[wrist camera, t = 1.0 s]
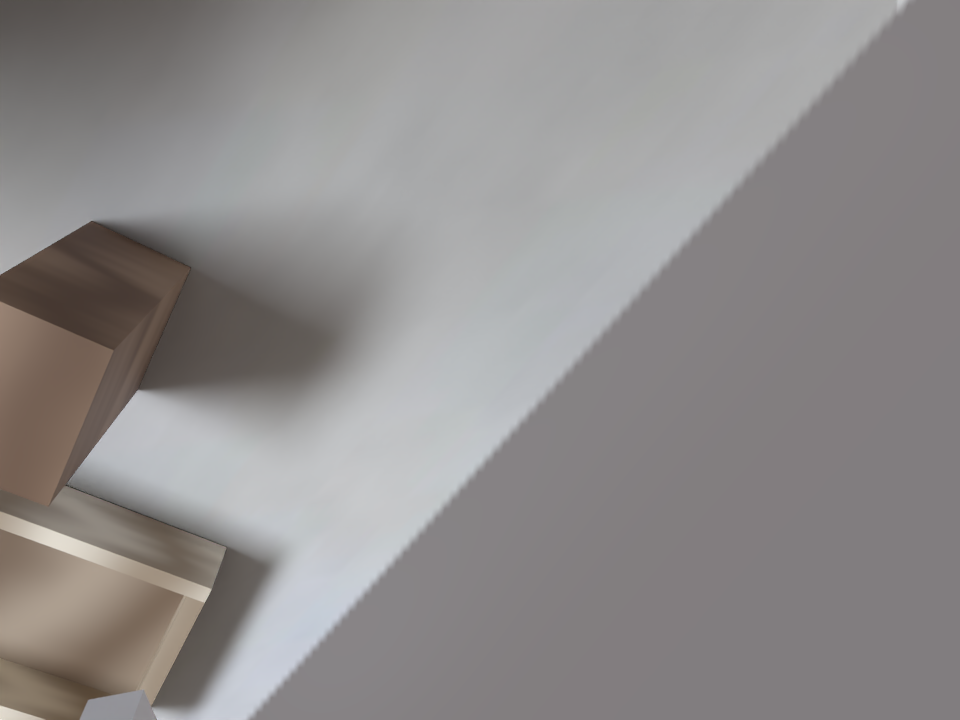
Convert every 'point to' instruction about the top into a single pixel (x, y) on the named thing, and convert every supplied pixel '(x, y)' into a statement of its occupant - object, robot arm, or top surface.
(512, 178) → the top surface
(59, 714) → the open wooden box
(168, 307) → the tan wooden block
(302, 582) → the top surface
